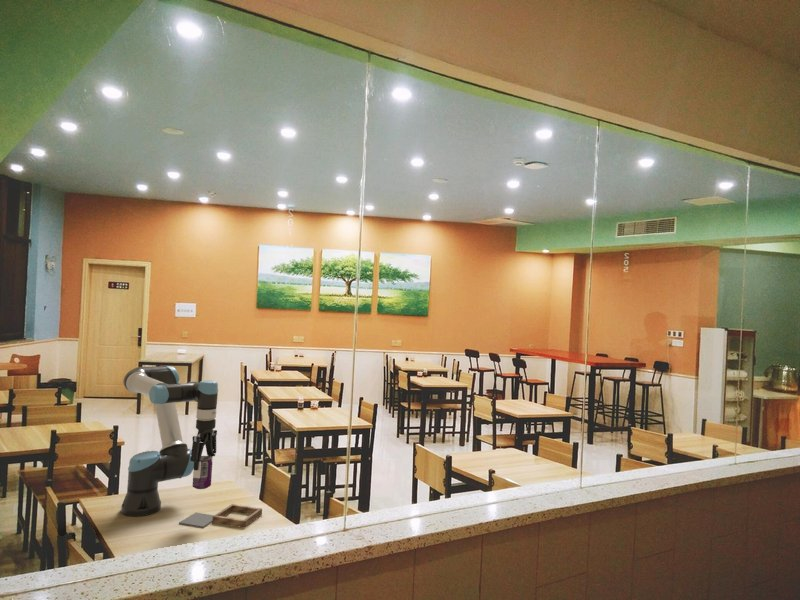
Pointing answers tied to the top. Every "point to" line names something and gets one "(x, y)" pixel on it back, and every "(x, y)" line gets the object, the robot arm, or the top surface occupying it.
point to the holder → (222, 519)
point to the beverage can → (204, 474)
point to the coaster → (198, 520)
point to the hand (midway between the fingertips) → (202, 474)
